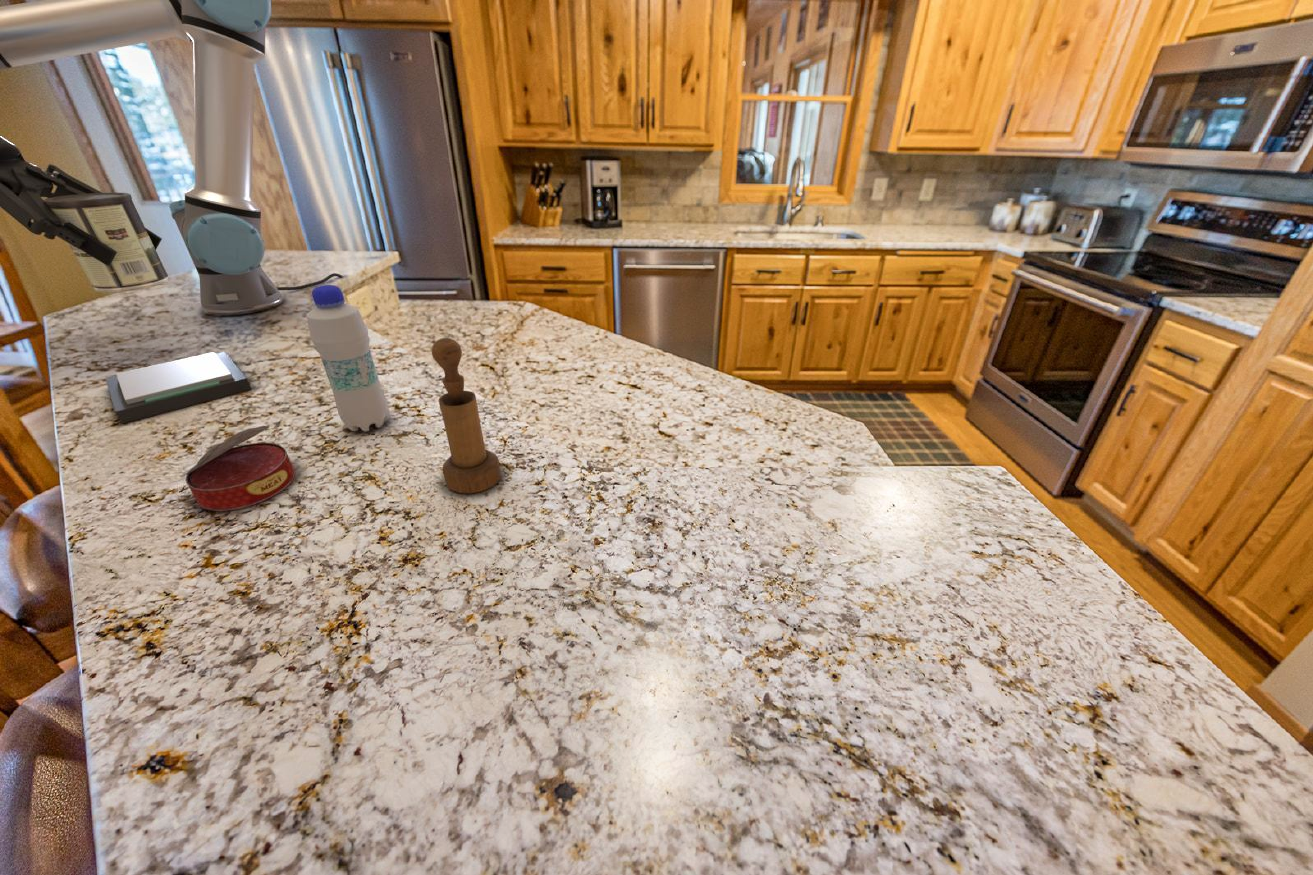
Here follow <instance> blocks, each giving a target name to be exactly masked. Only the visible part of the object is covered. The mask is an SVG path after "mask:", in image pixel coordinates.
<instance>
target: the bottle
mask: <svg viewBox="0 0 1313 875" xmlns="http://www.w3.org/2000/svg"><path fill="white" fill-rule="evenodd" d="M311 297H312V300H313V303H314V306H315V307H314V308H313V309H311V310H310V311H309V312H307V314H306V321H307V324H308V325H307V326H308V330H309V337H310V341H311V342H312V344H313V348H314V351H316V352H317V353H318V354H319V357H320V359H321V362H322V364H323V367H324V370H325V373H326V376H327V379H328V383H329V384H330V388H331V391H332V394H333V398H334V402H335V406H336V410H337V413H338V417H339V419H340V420H341V422H342V423H343V424H344V425H345V426H346V428H347V429H348V430H350V431H352V432H358V431H359V428H360V429H361V431H362V432H369V431H370V426H371V425H373V424H374V427H375V428H377V429H379V428H381V427H382V426H383V425H384V423H386V422H387V421H388V420H389V418H390V408H389V404H388V401H387V397H386V395H385V393H384V390H383V388H382V385H381V382H380V380H379V379H380V378H379V376H378V372H377V369H376V366H375V361H374V358H373V354H372V351H371V348H370V342H371V338H370V337H369V329H368V327H367V325H366V323H365V321H364V319H363V317H362V314H361V312H360V310H359V309H358V307H357V306H354V305H352V304H349V303H345V302H346V300H345V296H344V293H343V291H342V289H341V288H340V287H339V286H337V285H334V284H324V285H319V286H315V288H313V289H312V291H311Z"/></svg>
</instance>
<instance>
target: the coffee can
mask: <svg viewBox="0 0 1313 875" xmlns="http://www.w3.org/2000/svg"><path fill="white" fill-rule="evenodd" d="M43 200H44V202H45V203H46V204H47V205H48V206H49V207H50V209H51V210H52V211H53V212H54V213H55V215H56V216H57V217H58V218H59V219H60V220H61V222H62V224H61V225H63V226H64V224H65V223H67V222H70V223H71V224H73V225H75V226H76V227H78V228H79V229H81V230H83V231H84V232H86V233H87V234H89V235H91V236H92V237H94V238H96V239H97V240H99V241H100V242H102V243H104V244H105V245H107V246H108V247H110V248H112V249H113V250H115V251H116V252H117V253H116V255H115V257H114V259H113V261H112V263H111V265H105V264H104V263H102V262H100V261H99V260H97V259H95V258H94V257H92V256H90V255H89V254H87V253H85V252H84V251H82V250H81V249H79V248H76V247H74V246H72V245H71V244H69V243H68V245H69V247H70V249H71V250H72V252H73V254H74V255H75V258H76V259H77V261H78V263H79V264H80V266H81V268H82V269H83V272H84V273H85V275H86V277H87V279H88V282H90V284H91V286H92V289H93V291H94V292H96V293H97V292H98V293H121V292H122V293H123V292H132V291H138V290H144V289H150V288H153V287H157V286H160V285H163V284H166V283H167V282H169V281H171V278H170V276H169V274H168V272H167V271H166V268H165V266H164V265H163V262H162V260H161V258H160V256H159V254H158V252H157V249H156V250H155V248H154V246H153V243H152V241H151V239H150V237H149V235H148V233H147V231H146V229H147V228H146V227H145V224H144V223H143V220H142V218H141V216H140V214H139V213H138V212H139V211H137V208H136V205H135V204H134V201H133V197H132V195H131V193H128V192H102V193H90V194H77V195H67V196H58V197H52V198H47V197H46V198H44V199H43ZM145 228H146V229H145Z"/></svg>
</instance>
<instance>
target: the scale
mask: <svg viewBox="0 0 1313 875" xmlns="http://www.w3.org/2000/svg"><path fill="white" fill-rule="evenodd" d="M104 379H105V383H106V386H107V390H108V393H109V397H110V399H111V403H112V407H113V410H114V413H115V415H116V416H117V418H118V419H119V421H120V423H121V424H122V425H124V424H127V423H131V422H135V421H138V420H142V419H146V418H150V417H153V416H157V415H161V414H165V413H169V412H172V411H176V410H180V409H184V408H187V407H190V406H194V405H199V404H202V403H206V402H209V401H213V400H217V399H222V398H225V397H229V396H233V395H236V394H239V393H244V392H247V391H251V390H252V387H251V384H250V382H249V380H248V378H247V376H246V375H245V373H243V372H242V371H241V369H240V368H239V367H238V366H237V364H236V363H235V362H234V361H233V360H232V358H231V357H230V356H229V354H228V353H227V352H226V351H220V352H215V351H211V352H208V353H203V354H198V355H193V356H189V357H185V358H181V359H176V360H171V361H166V362H162V363H158V364H153V365H149V366H144V367H139V368H135V369H131V370H125V371H121V372H116V373H115V375H113V376H108V377H105V378H104Z"/></svg>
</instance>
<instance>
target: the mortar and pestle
mask: <svg viewBox="0 0 1313 875" xmlns="http://www.w3.org/2000/svg"><path fill="white" fill-rule="evenodd" d="M462 351H463V350H462V348H461V346H460V344H459V343H458V342H457V340H456V339H454V338H450V337H443V338H439V339H437V340H436V341H435V342H433V344H432V346H431V356H432V358H433V360H434V361H435V362H436V363H437V365H438V366H439V367H440V368H441V369H442V370H443V372H444V377H443V378H442V379H441V382H442V385H443V387H444V388H445V390H446V392H447V393H445V394H442V395H441V396H440V397H439V398H438V405H439V408H440V412H441V417H442V420H443V425H444V429H445V433H446V437H447V443H448V447H449V451H450V456H449V457H448V458H447V459H446V460H445V461H444V463H443V465H442V474H443V478H444V483H445V485H446V487H447V488H448V489H449V490H451V491H452V492H455V493H459V494H475V493H480V492H484V491H486V490H489V489H490V488H492V487H494V486H495V485H496V484H497V483H499V481H500V480H501V477H502V470H501V467H500V466H501V465H500V462H499V458H498V455H496V454H495V453H494V452H493V451H491V450H488V449H487V448H486V446H485V440H484V435H483V431H482V424H481V419H480V412H479V407H478V403H477V398H476V397H477V396H476V394H475V392H473V391H470V390H464V389H465V377H464V376H463V375H462V374H460V373H459V364H460V363H461V359H462V356H463V352H462Z"/></svg>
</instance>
